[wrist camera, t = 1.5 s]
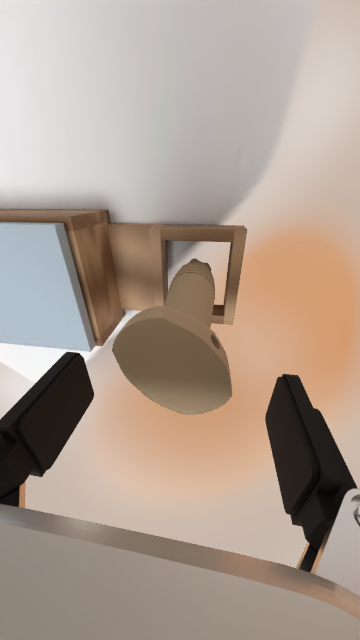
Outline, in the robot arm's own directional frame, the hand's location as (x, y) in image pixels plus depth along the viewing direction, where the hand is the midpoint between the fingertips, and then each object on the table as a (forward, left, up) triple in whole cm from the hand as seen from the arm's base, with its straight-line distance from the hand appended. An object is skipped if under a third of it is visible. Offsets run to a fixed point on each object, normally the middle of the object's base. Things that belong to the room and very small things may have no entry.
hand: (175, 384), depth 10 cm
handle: (-1, 0, -16) cm, 15 cm away
